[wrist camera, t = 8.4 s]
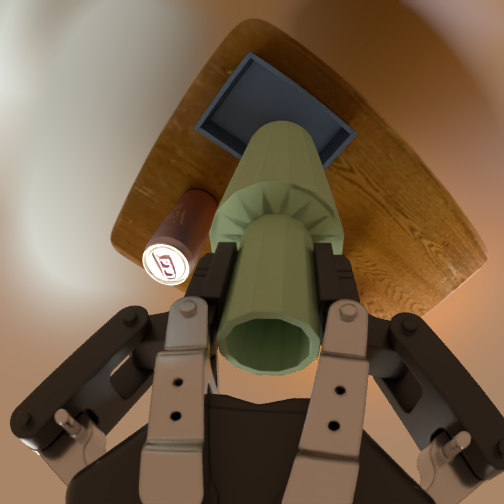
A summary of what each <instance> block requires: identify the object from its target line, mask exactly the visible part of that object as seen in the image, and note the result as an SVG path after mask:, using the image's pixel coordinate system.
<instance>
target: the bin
mask: <svg viewBox="0 0 504 504" xmlns="http://www.w3.org/2000/svg"><path fill="white" fill-rule="evenodd" d="M274 121H289V122H293V123H295V124H298V125H299V126H301V127H302V128H304V129H305V130H306V131H307V132H308V133H309V135H310V136H311V137H312V140H313V142H314V144H315V147H316V149H317V152H318V155H319V158H320V160H321V163H322V166H323V169H324V170H325V169H326V168H327V167H328V166H329V165H330V164H331V163H332V162H333V161H334V159H335V158H336V157H337V156H338V155H339V154H340V153H341V152H342V151H343V150H344V149H345V147H346V146H347V145H348V144H349V143H350V142H351V141H352V140H353V139H354V138H355V136H356V135H357V133H356V132H355V131H354V130H353V129H352V128H351V127H350V126H349V125H348V124H347V123H345V122H344V121H343V120H342V119H341V118H340V117H338V116H337V115H336V114H335V113H334V112H332V111H331V110H330V109H329V108H328V107H326V106H325V105H324V104H323V103H322V102H320V101H319V100H318V99H317V98H315V97H314V96H313V95H311V94H310V93H309V92H308V91H306V90H305V89H304V88H302V87H301V86H300V85H298V84H297V83H296V82H294V81H293V80H292V79H290V78H289V77H288V76H286V75H285V74H283V73H282V72H281V71H279V70H278V69H276V68H275V67H273V66H272V65H271V64H269V63H268V62H266V61H265V60H263V59H262V58H260V57H259V56H257V55H256V54H254V53H252V52H250V51H249V52H248V54H247V55H246V56H245V57H244V59H243V60H242V61H241V63H240V64H239V65H238V66H237V68H236V69H235V70H234V72H233V73H232V74H231V76H230V77H229V78H228V80H227V81H226V82H225V84H224V85H223V87H222V88H221V89H220V91H219V92H218V93H217V95H216V96H215V98H214V99H213V100H212V102H211V103H210V105H209V106H208V108H207V109H206V111H205V112H204V113H203V115H202V116H201V118H200V119H199V121H198V122H197V124H196V125H195V127H194V129H195V130H197V131H198V132H200V133H201V134H203V135H204V136H206V137H207V138H209V139H210V140H212V141H213V142H215V143H216V144H218V145H219V146H221V147H222V148H223V149H225V150H226V151H228V152H229V153H231V154H232V155H234V156H235V157H236V158H238V159H239V160H241V158H242V156H243V154H244V152H245V150H246V148H247V146H248V144H249V142H250V140H251V138H252V136H253V135H254V134H255V133H256V131H257V130H258V129H260V128H261V127H262V126H264V125H266V124H268V123H270V122H274Z"/></svg>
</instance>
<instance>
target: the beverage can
mask: <svg viewBox="0 0 504 504" xmlns="http://www.w3.org/2000/svg"><path fill="white" fill-rule="evenodd" d="M216 211H217V204H216V202H215V200H214V199H213V197H212V196H211V195H209V194H208V193H207V192H205V191H202V190H190V191H187V192H186V193H184V194H183V195H182V196H181V198H180V199H179V200H178V202H177V203H176V204H175V206H174V207H173V208H172V210H171V211H170V213H169V214H168V215H167V217H166V218H165V220H164V221H163V222H162V224H161V225H160V227H159V228H158V229H157V231H156V232H155V234H154V235H153V237H152V238H151V239H150V241H149V242H148V244H147V245H146V248H145V251H144V254H143V265H144V268H145V270H146V271H147V273H148V274H149V275H150V276H151V277H152V278H153V279H155V280H156V281H158V282H160V283H163V284H166V285H177V284H180V283H182V282H184V281H185V280H186V279H187V278H188V276H189V275H190V274H191V273H192V271H193V269H194V266H195V264H196V262H197V259H198V257H199V255H200V252H201V250H202V248H203V245H204V243H205V241H206V238H207V236H208V234H209V231H210V229H211V226H212V223H213V220H214V216H215V213H216Z"/></svg>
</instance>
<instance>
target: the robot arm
mask: <svg viewBox="0 0 504 504" xmlns="http://www.w3.org/2000/svg"><path fill="white" fill-rule="evenodd" d="M237 253H238V249H237V243H236V242H218V245H217V248H216V250H215V253H206V254H205V255H204V256H203V257H202V258H201V259H200V260H199V262H198V264H197V266H196V269H195V271H194V274H193V276H192V279H191V281H190V284H189V286H188V289H187V291H186V294H185V296H184V297H183V298H181V299H179V300H177V301H175V302H174V303H173V304H172V306H171V308H170V311H168V312H165V313H160V314H154V315H148V312H147V310H146V309H145V308H143V307H141V306H129V307H126V308H124V309H122V310H120V311H119V312H118V313H117V314H116V315H115V316H113V317H112V318H111V319H110V320H109V321H108V322H107V323H106V324H104V325H103V326H102V327H101V328H100V329H99V330H98V331H97V332H96V333H95V334H94V335H92V336H91V337H90V338H89V339H88V340H87V341H86V342H85V343H84V344H82V345H81V346H80V347H79V348H78V349H77V350H76V351H75V352H74V353H73V354H72V355H71V356H70V357H68V358H67V359H66V360H65V361H64V362H63V363H62V364H61V365H60V366H59V367H58V368H57V369H56V370H55V371H54V372H53V373H52V374H50V375H49V377H47V378H46V379H45V380H44V381H43V382H42V383H41V384H40V385H39V386H38V387H37V388H36V389H35V390H34V391H33V392H32V393H31V394H30V395H29V396H28V397H27V398H26V399H25V400H24V401H23V402H22V403H21V404H20V405H19V406H18V407H17V408H16V409H15V410H14V412H13V413H12V416H11V419H10V427H11V430H12V432H13V434H14V435H15V436H16V437H18V438H19V439H20V440H21V441H23V442H24V443H25V444H27V446H28V447H29V448H30V449H32V450H33V451H34V452H36V453H37V454H39V455H40V456H41V457H42V458H43V459H44V461H45V462H46V463H47V464H48V465H49V467H50V468H51V469H52V470H53V471H54V472H55V473H56V474H57V476H58V477H59V478H60V479H61V480H62V481H63V482H64V483H65V484H66V485H67V486H68V487H67V491H66V498H65V499H66V504H458V503H460V502H461V501H462V500H463V499H465V498H466V497H467V496H468V495H469V494H470V493H471V492H473V491H474V490H475V489H476V488H477V487H479V486H480V485H482V484H484V483H486V482H487V481H489V480H491V479H492V478H494V477H496V476H497V475H499V474H501V473H502V472H504V418H503V416H502V415H501V413H500V412H499V411H498V409H497V408H496V407H495V405H494V404H493V403H492V401H491V400H490V399H489V398H488V396H487V395H486V394H485V392H484V391H483V390H482V389H481V387H480V386H479V385H478V384H477V382H476V381H475V380H474V379H473V377H471V375H470V374H469V373H468V371H467V370H466V369H465V368H464V366H463V365H462V364H461V363H460V362H459V360H458V359H457V358H456V357H455V356H454V355H453V354H452V352H451V351H450V350H449V349H448V348H447V346H446V345H445V344H444V343H443V342H442V341H441V339H440V338H439V337H438V336H437V335H436V334H435V333H434V332H433V331H432V329H431V328H430V327H429V326H428V325H427V324H426V323H425V322H424V320H423V319H422V318H420V317H419V316H417V315H415V314H412V313H407V312H404V313H399V314H397V315H395V316H394V317H393V318H392V319H391V321H389V320H384V319H380V318H376V317H374V316H372V315H370V314H368V312H367V309H366V308H365V307H364V306H363V305H362V304H361V303H360V300H359V296H358V292H357V288H356V283H355V279H354V275H353V272H352V267H351V264H350V261H349V260H348V259H347V258H346V257H345V256H344V255H334V254H333V249H332V244H331V243H314V245H313V256H314V266H315V276H316V287H317V298H318V310H319V319H320V332H321V343H320V345H322V349H321V353H320V358H319V363H318V368H317V372H316V377H315V382H314V386H313V390H312V395H311V398H309V399H308V398H305V399H304V398H292V399H287V400H282V401H276V402H271V403H265V404H254V403H251V402H247V401H244V400H241V399H237V398H234V397H231V396H228V395H221V394H220V393H219V368H218V352H217V350H218V341H217V332H218V328H219V324H220V320H221V316H222V312H223V308H224V304H225V300H226V296H227V292H228V288H229V284H230V280H231V276H232V272H233V268H234V264H235V260H236V257H237ZM127 355H129V358H128V359H127V360H126V362H125V363H124V364H123V365H121V366H120V368H119V369H118V370H117V371H116V372H115V373H114V374H113V375H112V376H111V377H110V375H111V372H112V371H113V370H114V369H115V368H116V367H117V366H118V365H119V364H120V363H121V362H122V361H123V360H124V359H125V357H127ZM368 375H372V376H373V378H374V380H375V382H376V383H377V384H378V386H379V388H380V389H381V391H382V392H383V394H384V395H385V397H386V398H387V400H388V401H389V403H390V404H391V406H392V407H393V409H394V410H395V412H396V413H397V415H398V416H399V418H400V420H401V421H402V423H403V424H404V426H405V427H406V429H407V430H408V432H409V433H410V435H411V437H412V438H413V440H414V441H415V443H416V444H417V446H418V447H419V449H420V450H421V452H420V454H419V456H418V459H417V468H418V471H419V474H420V477H421V483H420V485H419V484H418V483H416V481H414V479H412V478H411V477H410V476H409V475H408V474H407V473H406V472H405V471H404V470H403V469H402V468H401V467H400V466H399V465H398V464H397V463H396V462H395V461H394V460H393V459H392V458H391V457H390V456H389V455H388V454H387V453H386V452H385V451H384V450H383V449H382V448H381V447H380V446H379V445H378V444H377V443H376V442H375V441H374V440H373V439H372V438H371V437H370V435H368V433H367V432H366V431H365V430H364V429H363V421H364V414H365V405H366V395H367V384H368ZM152 384H153V386H152V394H151V403H150V413H149V422H148V423H147V424H146V425H144V426H143V427H142V428H140V429H139V430H137V431H136V432H135V433H133V434H132V435H131V436H129V437H128V438H126V439H125V440H124V441H122V442H121V443H119V444H118V445H117V446H115V447H114V448H112V449H111V450H110V451H108V452H107V453H105V452H106V449H105V445H106V437H105V436H106V435H107V434H108V433H109V432H110V431H111V430H112V429H113V427H114V426H115V425H116V424H117V423H118V422H119V421H120V420H121V419H122V417H123V416H124V415H125V414H126V413H127V412H128V411H129V410H130V408H132V406H133V405H134V404H135V403H136V402H137V401H138V400H139V399H140V397H141V396H142V395H143V394H144V393H145V392H146V391H147V390H148V389H149V388H150V386H151V385H152Z"/></svg>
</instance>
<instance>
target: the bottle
mask: <svg viewBox="0 0 504 504" xmlns="http://www.w3.org/2000/svg"><path fill="white" fill-rule="evenodd" d="M209 234H210V241H211V248H212V253H215V250H216V248H217V245H218V242H236V243H237V249H238V253H237V257H236V260H235V264H234V268H233V272H232V276H231V280H230V284H229V288H228V292H227V296H226V300H225V304H224V308H223V312H222V316H221V320H220V324H219V328H218V332H217V341H218V346H219V351H220V353H221V355H223V356H224V357H225V358H226V359H227V360H228V361H229V362H230V363H231V364H232V365H234V366H235V367H237V368H239V369H242V370H245V371H248V372H250V373H253V374H256V375H272V376H273V375H274V376H281V375H282V376H283V375H286V374H290V373H293V372H296V371H300V370H302V369H304V368H305V367H307V366H308V365H309V364H310V363H311V362H312V361H314V360H315V359H316V358H317V357H318V355H319V349H320V343H321V332H320V319H319V310H318V298H317V287H316V276H315V266H314V256H313V245H314V243H331V244H332V249H333V254H334V255H342V250H343V241H344V231H343V228H342V224H341V221H340V218H339V214H338V211H337V208H336V205H335V202H334V199H333V196H332V193H331V189H330V186H329V183H328V181H327V178H326V175H325V172H324V169H323V166H322V163H321V160H320V158H319V155H318V152H317V149H316V147H315V144H314V142H313V140H312V137H311V136H310V135H309V133H308V132H307V131H306V130H305V129H304V128H302V127H301V126H299V125H298V124H295V123H293V122H289V121H274V122H270V123H268V124H266V125H264V126H262V127H261V128H260V129H258V130H257V131H256V133H255V134H254V135H253V136H252V138H251V140H250V142H249V144H248V146H247V148H246V150H245V152H244V154H243V156H242V158H241V160H240V162H239V164H238V166H237V168H236V170H235V172H234V174H233V177H232V179H231V181H230V183H229V185H228V187H227V189H226V191H225V193H224V195H223V198H222V200H221V202H220V204H219V206H218V208H217V211H216V213H215V216H214V220H213V223H212V226H211V229H210V233H209Z"/></svg>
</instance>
